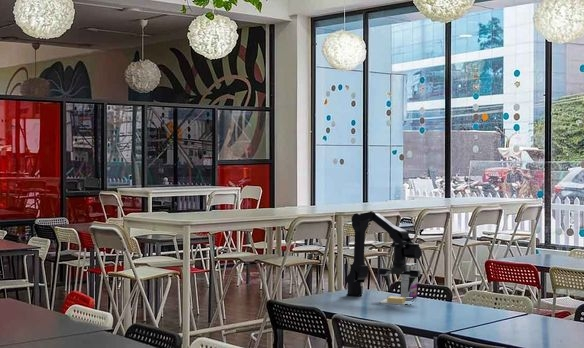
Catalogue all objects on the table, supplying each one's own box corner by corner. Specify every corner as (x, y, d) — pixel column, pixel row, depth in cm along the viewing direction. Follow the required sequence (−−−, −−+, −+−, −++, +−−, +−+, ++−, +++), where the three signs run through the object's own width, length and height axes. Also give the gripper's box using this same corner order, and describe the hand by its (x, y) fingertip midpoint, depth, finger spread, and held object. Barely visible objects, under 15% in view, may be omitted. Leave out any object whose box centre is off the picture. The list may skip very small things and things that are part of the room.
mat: (379, 302, 395) (379, 298, 395) (386, 299, 408) (386, 295, 408) (409, 305, 390) (409, 301, 390) (415, 301, 404) (415, 297, 404)
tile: (390, 300, 402) (387, 302, 395) (390, 296, 402) (387, 297, 395) (405, 301, 399) (402, 303, 393) (405, 297, 399) (402, 298, 393)
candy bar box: (407, 296, 424) (408, 262, 424) (417, 297, 422) (418, 263, 422) (399, 298, 414) (400, 264, 414) (409, 299, 412) (410, 264, 412)
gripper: (376, 257, 397) (374, 291, 397) (416, 259, 391) (415, 294, 391) (381, 255, 407) (380, 288, 407) (421, 258, 401) (420, 291, 401)
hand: (398, 291), depth 401 cm, fingers open, 9 cm apart
